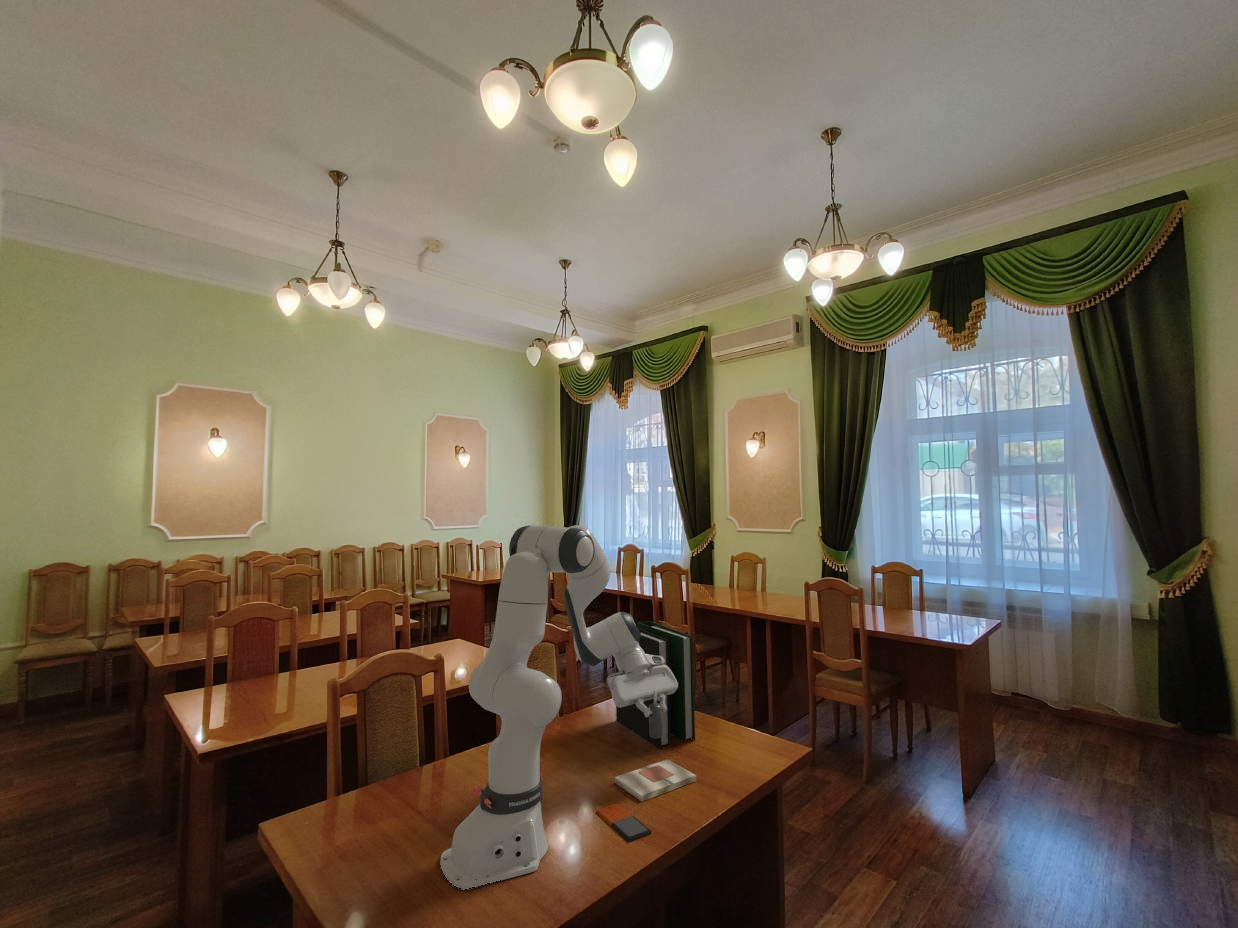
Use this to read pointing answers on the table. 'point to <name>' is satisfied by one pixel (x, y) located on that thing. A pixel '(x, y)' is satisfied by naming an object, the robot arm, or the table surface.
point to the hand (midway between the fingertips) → (657, 713)
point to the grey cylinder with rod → (655, 719)
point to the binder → (678, 704)
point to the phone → (623, 822)
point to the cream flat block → (655, 779)
